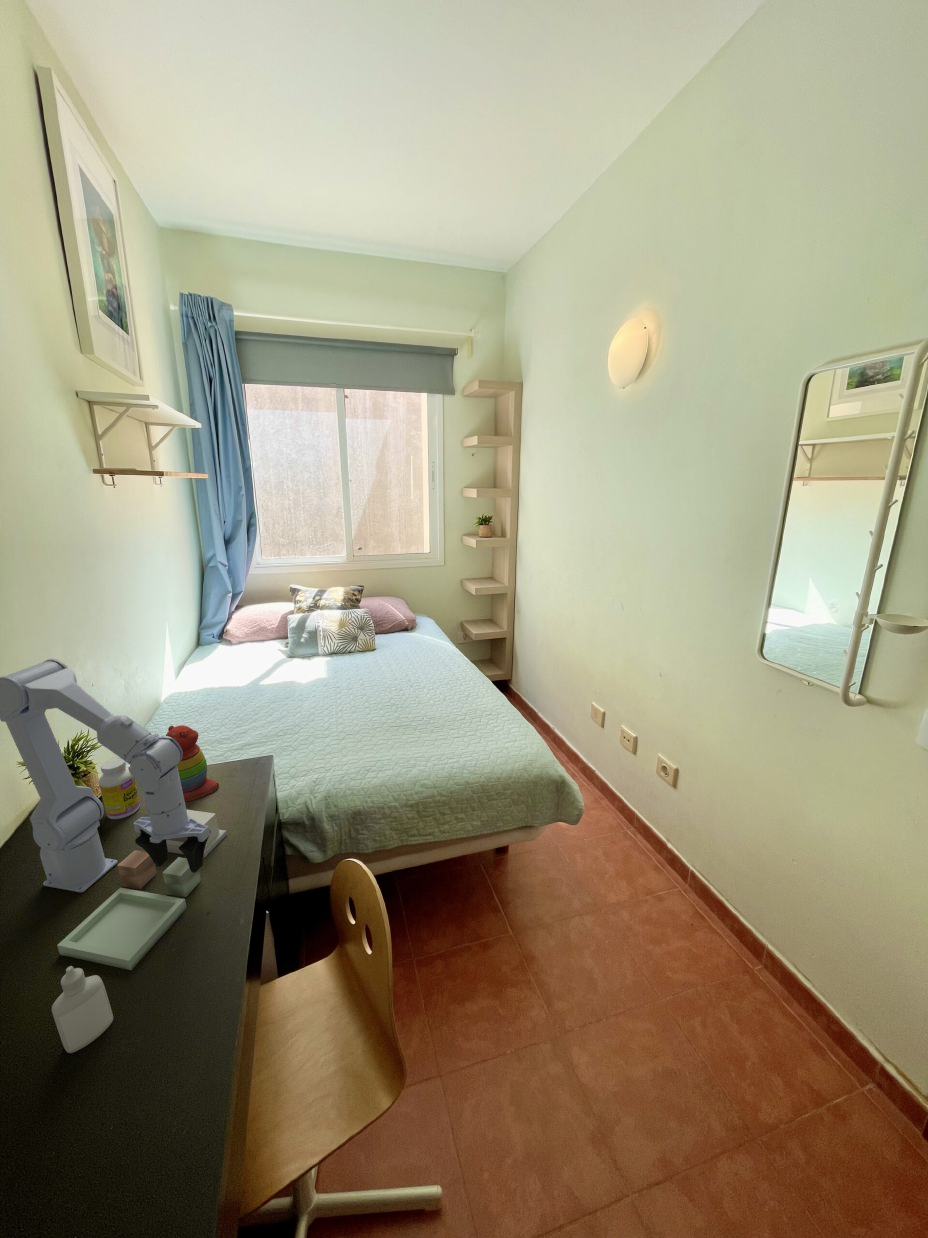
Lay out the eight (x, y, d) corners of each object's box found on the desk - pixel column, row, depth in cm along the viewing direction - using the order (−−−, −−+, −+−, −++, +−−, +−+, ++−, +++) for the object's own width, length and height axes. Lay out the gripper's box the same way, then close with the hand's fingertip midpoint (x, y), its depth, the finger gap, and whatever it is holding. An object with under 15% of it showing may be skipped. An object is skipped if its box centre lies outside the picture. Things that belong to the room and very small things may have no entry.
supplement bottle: (128, 820, 113) (116, 771, 109) (100, 820, 113) (87, 772, 110) (147, 802, 119) (136, 755, 116) (120, 802, 120) (108, 755, 116)
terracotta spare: (122, 886, 95) (117, 865, 93) (139, 870, 98) (134, 850, 97) (140, 889, 94) (135, 868, 92) (156, 873, 98) (152, 853, 96)
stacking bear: (222, 787, 125) (211, 724, 120) (181, 809, 117) (167, 742, 112) (200, 774, 131) (189, 713, 126) (160, 793, 123) (146, 729, 118)
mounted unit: (151, 849, 104) (145, 825, 102) (176, 827, 111) (171, 804, 109) (204, 857, 101) (199, 833, 100) (227, 834, 108) (222, 811, 106)
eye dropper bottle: (110, 1039, 69) (90, 973, 65) (60, 1059, 66) (37, 992, 63) (116, 1010, 72) (98, 946, 69) (69, 1027, 70) (48, 963, 67)
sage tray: (60, 954, 81) (57, 945, 80) (122, 896, 92) (120, 887, 92) (131, 970, 78) (128, 960, 78) (186, 908, 89) (184, 899, 89)
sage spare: (167, 894, 93) (162, 872, 91) (183, 878, 96) (178, 857, 95) (185, 897, 92) (180, 876, 90) (200, 881, 96) (196, 860, 94)
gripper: (113, 813, 87) (129, 876, 90) (184, 823, 84) (198, 888, 87) (145, 789, 93) (159, 849, 97) (212, 798, 90) (224, 859, 94)
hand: (179, 865), depth 93 cm, fingers open, 7 cm apart
